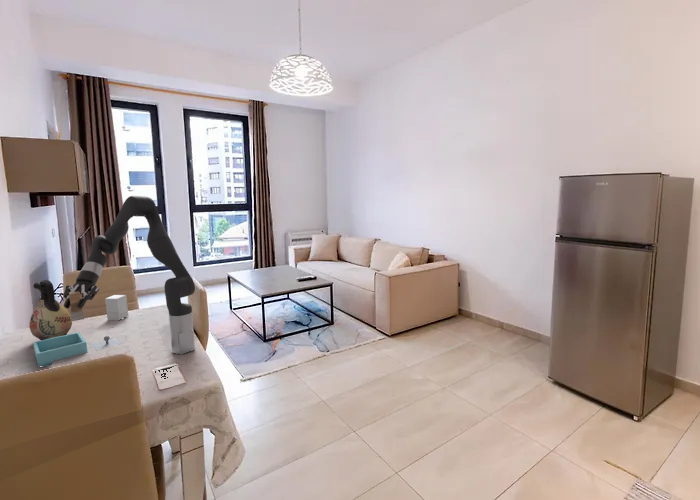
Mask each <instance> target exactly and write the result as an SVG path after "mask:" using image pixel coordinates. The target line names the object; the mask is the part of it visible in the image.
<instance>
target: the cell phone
mask: <svg viewBox="0 0 700 500" xmlns="http://www.w3.org/2000/svg"><path fill="white" fill-rule="evenodd" d="M174 366H178V367H179V364H178V363H177V364H176V362H175V363H172V364H168V365H167V364H166V365H164V366H159V367H156V368H154V369H157V370H158V369H160V370H163V372H164V370H166V371H167V369H170V368H172V367H174ZM160 370H158V371H159V372H160ZM153 371H154V370H153V369H152V372H153ZM167 372H168V371H167ZM170 372H171V371H170ZM155 373H156V371H155ZM163 374H164V376H162V375H163ZM163 374H161V376H162V377H166V376H165V375H166V373H163ZM162 377H161V378H162ZM167 378H168V377H167ZM164 379H166V378H164Z"/></svg>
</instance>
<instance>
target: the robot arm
mask: <svg viewBox="0 0 700 500" xmlns="http://www.w3.org/2000/svg"><path fill="white" fill-rule="evenodd" d="M133 217H144V218H145V219H146V222H147V224H148V227H149V228H148V229H149V230H148V234H147V236H146V237H147V238H146V244H147V247H148V248H149V251H150V252H151V254H152V256H153V257H154V259H156V260H157V261H158V262H159V263H161V264H162V265H164V266H166V268H168V269H169V270H170V271H171V273H173V275H174V276H175V277H172V278H168V279H167V280H166V281H165V282H164V296H165V303H166V307H167V310H168V318H169V319H168V320H169V330H170V331H169V332H170V344H171V352H172V354H174V353H176V354H175V355H180V354H181V355H184V354H183V353H185V354H187V353H186V352H188V353H190V352H189V351H191V352H194V351H195V349H196V348H195V347H196V346H195V332H194V321H193V318H194V317H193V316H194V315H193V305H191V304H189V303H183V302H182V301H181V299H182V298H185V297H188V296H192V295H193V294H194V293H195V292H196V285H195V281H194V280H193V277H192V276H191V274H190V273H189V271H188V270H187V268H186V266H185V265H184V264H183V262H182V259H181V258H180V256H179V254H178V252H177V250H176V248H175V246H174V244H173V242H172V240H171V238H170V236H169V234H168V232H167V230H166V228H165V225H164V223H163V222H162V218H161V216H160V213H159V211H158V207H157V205H156V203H155V201H154V199H153V198H151V197H149V196H145V195H143V196H142V195H130V196H128V197H127V198H126V199H125V200H124V202H123V204H122V206H121V208H120V210H119V212H118V213H117V216H116V218H115V220H114V221H113V222H112V224H111V225H110V226H109V227H108V229H106V231H105V232H104V235H101V234H100V235H97V236H95V237H93V239H92V242H91V247H90V248H91V249H90V254H89V257H88V258H87V260H86V262H85V264H84V265H83V266H82V268H81V270H80V271H79V274H78V275H77V277H76V278H75V283H74V284H73V285H69V284H67V285H66V286H65V288H64V292H63V296H62V297H63V298H65V301H64V304H63V306H64V307H65V308H66V309H70V300H69V292H75V291H79V292H80V295H81V299H80V301H79V303H78V305H77V307H78V308H79V309H81V308H82V309H83V308H84V306H85V304H86V303H87V302H88V301H92V300H93V299H94V297H96V295H97V294H98V293H99V291H100V288H99V287H98V286H97V285H96V284H97V282H98V281H99V279H100V277H101V274H102V272H103V270H104V267H105V265H106V263H107V261H108V257H107V256H106V255H113V254H116V252H117V251H118V248H119V244H120V242H121V241H122V240H123V238H124V237H125V235H126V234H127V233H128V231H129V227H130V226H129V221H130V219H132V218H133ZM103 253H104V254H103ZM105 254H106V255H105ZM193 350H194V351H193Z"/></svg>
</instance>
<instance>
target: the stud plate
mask: <svg viewBox="0 0 700 500" xmlns="http://www.w3.org/2000/svg"><path fill="white" fill-rule="evenodd" d="M123 344H124V343H123V342H122V341H121V340H120V339H119V338H118V337H113V338H110V336H108V335H106V336H104V337H103V340H102V341H97V342H94V343H93V342H92V343H91V345H92V347H93V348H94V350H96V351H100V350H104V349H107V348H108V349H109V348H111V347H112V348H113V347H114V346H115V347H116V346H120V345H123Z"/></svg>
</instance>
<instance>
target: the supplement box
mask: <svg viewBox="0 0 700 500" xmlns="http://www.w3.org/2000/svg"><path fill="white" fill-rule="evenodd" d="M104 302H105V308H106V317H107V319H106V320H107V321H118V320H120V319H122V318H124V317H126V318H128V317H129V309H128V299H127V295H125V294H114V295H110V296H109V297H105V298H104ZM127 316H128V317H127ZM124 319H125V318H124ZM122 320H123V319H122ZM120 321H121V320H120Z"/></svg>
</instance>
